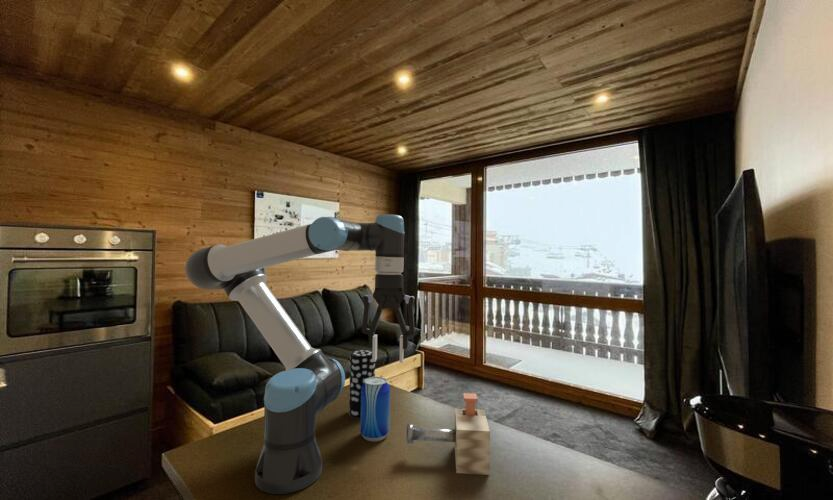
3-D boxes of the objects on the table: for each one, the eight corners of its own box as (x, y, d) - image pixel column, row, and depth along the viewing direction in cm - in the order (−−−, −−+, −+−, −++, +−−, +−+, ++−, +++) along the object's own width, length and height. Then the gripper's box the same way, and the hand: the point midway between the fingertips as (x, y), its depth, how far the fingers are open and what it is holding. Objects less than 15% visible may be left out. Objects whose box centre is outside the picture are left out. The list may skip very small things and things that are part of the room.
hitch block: (456, 473, 87) (456, 429, 87) (454, 446, 99) (454, 408, 99) (489, 474, 87) (489, 431, 87) (483, 448, 99) (484, 409, 99)
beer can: (384, 444, 100) (385, 386, 100) (356, 441, 101) (356, 384, 102) (392, 430, 108) (393, 376, 108) (366, 427, 110) (366, 374, 110)
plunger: (463, 427, 95) (463, 398, 95) (462, 421, 99) (463, 393, 99) (477, 428, 95) (477, 398, 95) (475, 422, 98) (476, 393, 99)
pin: (406, 446, 92) (406, 428, 92) (408, 437, 96) (408, 420, 96) (467, 450, 91) (467, 431, 91) (466, 440, 95) (466, 423, 95)
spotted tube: (347, 409, 122) (348, 350, 122) (371, 406, 124) (372, 348, 125) (350, 420, 114) (351, 357, 114) (376, 417, 116) (377, 355, 117)
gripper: (349, 273, 92) (348, 363, 92) (425, 274, 91) (424, 366, 90) (356, 272, 99) (355, 355, 99) (426, 273, 98) (425, 357, 98)
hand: (388, 360), depth 95 cm, fingers open, 6 cm apart
